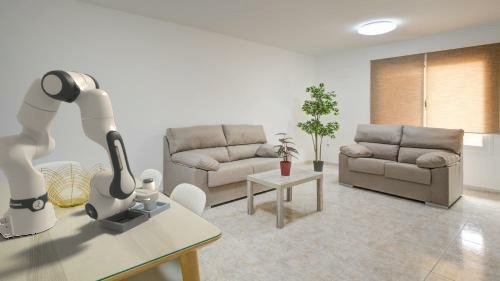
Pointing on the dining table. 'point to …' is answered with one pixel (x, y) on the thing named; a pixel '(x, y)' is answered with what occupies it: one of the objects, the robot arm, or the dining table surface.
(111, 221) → the frame
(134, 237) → the dining table surface
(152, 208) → the canister
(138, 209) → the tray
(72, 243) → the dining table surface
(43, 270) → the dining table surface
